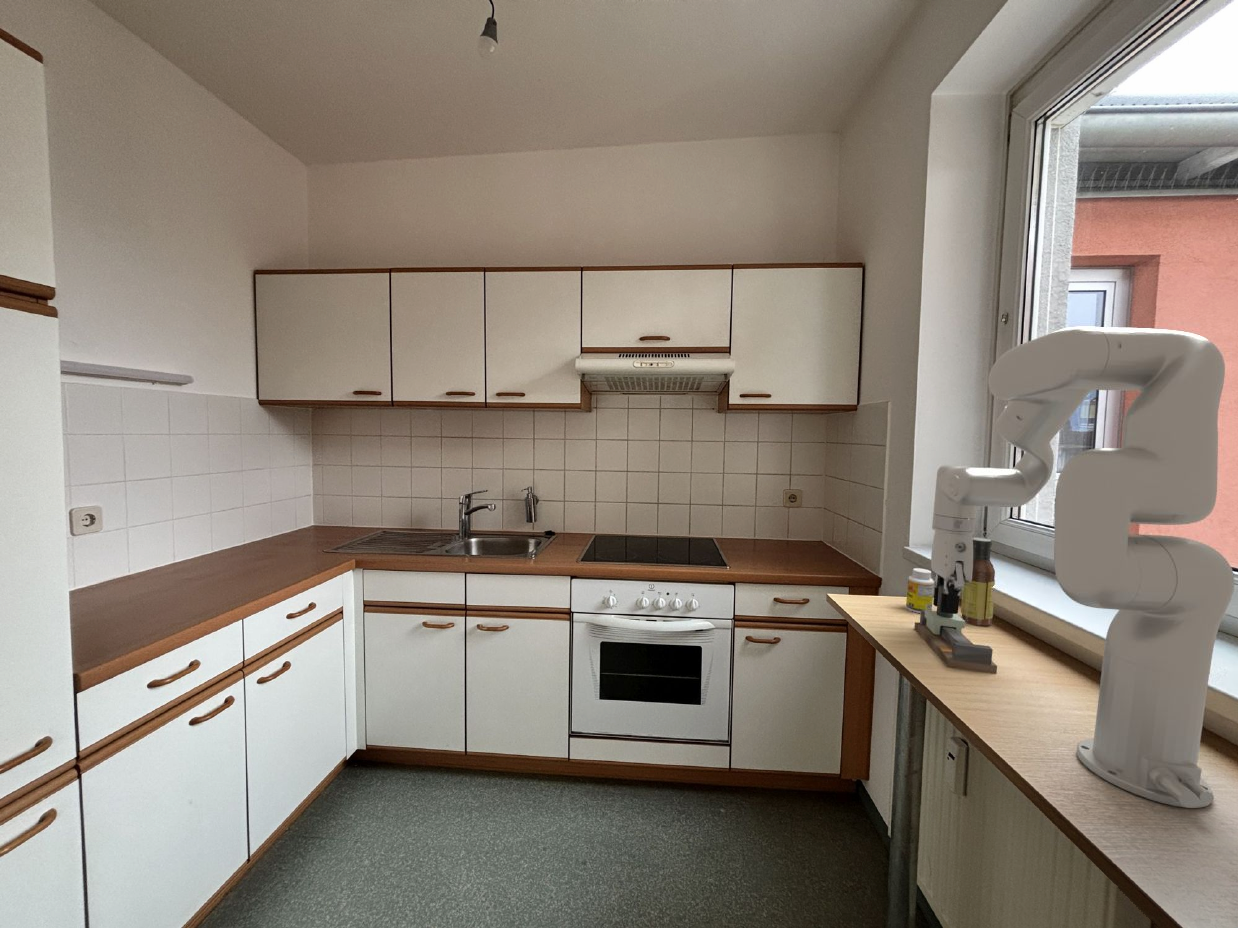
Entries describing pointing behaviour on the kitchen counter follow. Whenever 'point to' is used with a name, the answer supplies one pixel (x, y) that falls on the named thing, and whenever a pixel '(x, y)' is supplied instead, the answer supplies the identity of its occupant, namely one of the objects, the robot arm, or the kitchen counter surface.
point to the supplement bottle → (920, 590)
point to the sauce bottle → (979, 586)
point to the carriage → (943, 618)
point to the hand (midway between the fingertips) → (945, 608)
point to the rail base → (956, 648)
